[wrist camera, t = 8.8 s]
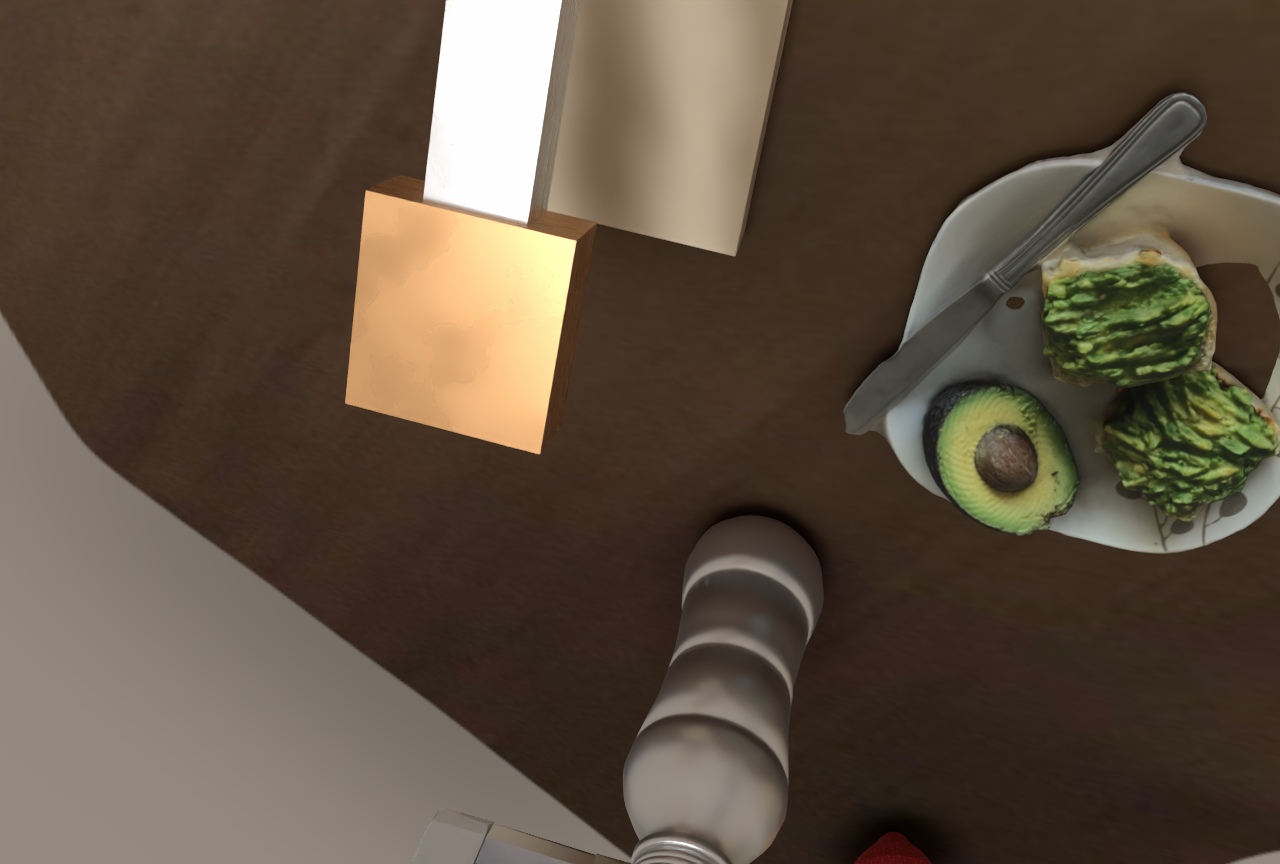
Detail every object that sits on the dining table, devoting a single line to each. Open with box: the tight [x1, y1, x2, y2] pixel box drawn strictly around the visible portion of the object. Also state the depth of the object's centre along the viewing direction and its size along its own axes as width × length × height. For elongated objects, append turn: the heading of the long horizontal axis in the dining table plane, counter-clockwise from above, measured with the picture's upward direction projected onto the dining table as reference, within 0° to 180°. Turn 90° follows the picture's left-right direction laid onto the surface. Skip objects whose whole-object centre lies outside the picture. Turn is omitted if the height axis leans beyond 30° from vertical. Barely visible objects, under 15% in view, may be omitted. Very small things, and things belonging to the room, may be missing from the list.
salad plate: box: [843, 92, 1280, 554], centre depth 47 cm, size 19×18×5 cm
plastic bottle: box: [623, 515, 824, 864], centre depth 51 cm, size 6×7×20 cm
